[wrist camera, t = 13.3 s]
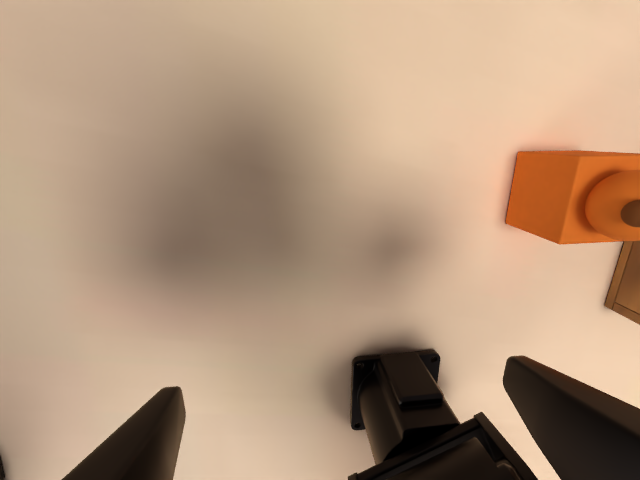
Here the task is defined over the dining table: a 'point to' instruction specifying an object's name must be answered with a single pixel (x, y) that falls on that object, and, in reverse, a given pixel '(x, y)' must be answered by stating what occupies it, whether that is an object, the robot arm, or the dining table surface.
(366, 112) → the dining table surface
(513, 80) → the dining table surface
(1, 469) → the beer stein
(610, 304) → the wooden box
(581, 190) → the toy bear
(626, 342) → the dining table surface
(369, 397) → the robot arm
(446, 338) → the dining table surface
